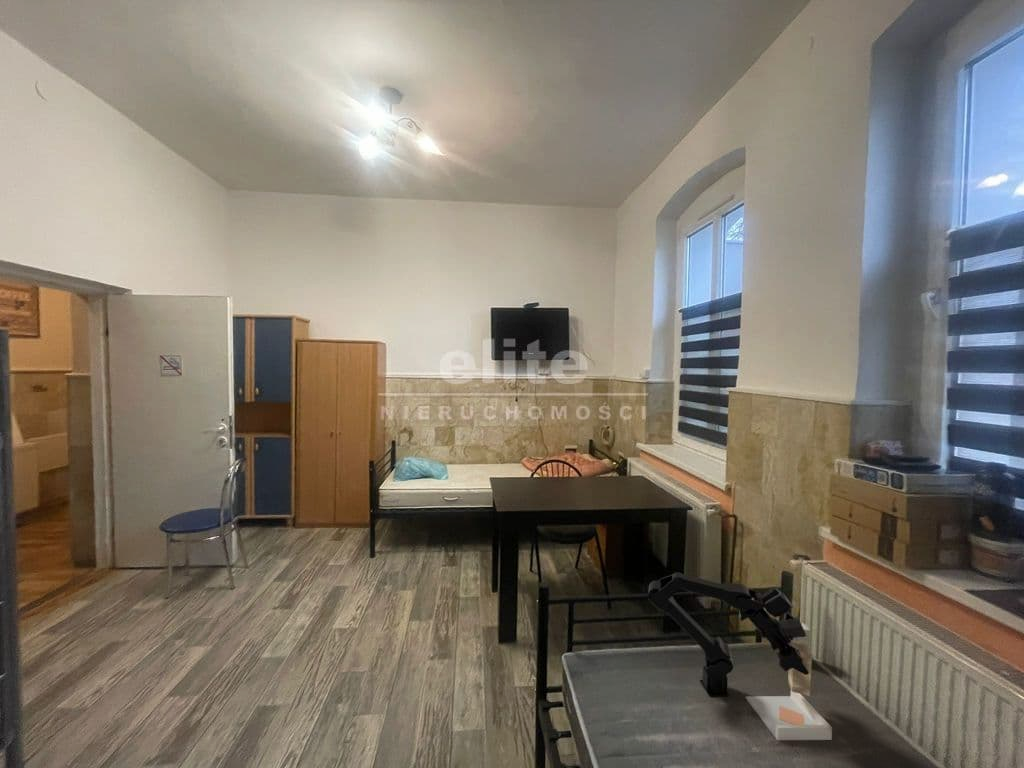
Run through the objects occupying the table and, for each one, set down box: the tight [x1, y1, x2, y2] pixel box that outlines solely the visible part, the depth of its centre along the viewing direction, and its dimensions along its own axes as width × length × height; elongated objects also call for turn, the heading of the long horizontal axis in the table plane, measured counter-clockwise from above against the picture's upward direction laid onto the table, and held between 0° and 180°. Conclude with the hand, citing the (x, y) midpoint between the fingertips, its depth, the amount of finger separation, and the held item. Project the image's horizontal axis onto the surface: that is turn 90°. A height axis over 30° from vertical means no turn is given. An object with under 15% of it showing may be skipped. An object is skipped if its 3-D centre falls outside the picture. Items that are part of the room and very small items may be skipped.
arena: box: [745, 689, 833, 741], centre depth 124 cm, size 16×15×4 cm
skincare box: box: [793, 622, 811, 649], centre depth 150 cm, size 6×4×12 cm
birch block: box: [787, 641, 813, 697], centre depth 126 cm, size 4×4×13 cm
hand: (805, 668), depth 125 cm, fingers closed on birch block, 4 cm apart
